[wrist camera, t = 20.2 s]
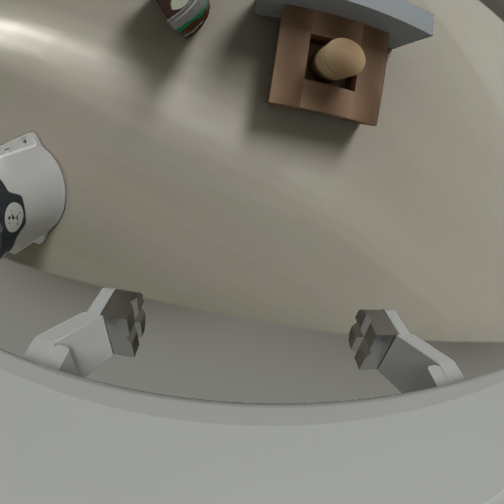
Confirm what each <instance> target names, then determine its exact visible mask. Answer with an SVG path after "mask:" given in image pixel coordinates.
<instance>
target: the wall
mask: <svg viewBox="0 0 504 504" xmlns="http://www.w3.org/2000/svg"><path fill="white" fill-rule="evenodd" d="M284 4H289V5H294V6H299V7H304V8H309V9H313V10H318V11H322V12H326V13H330V14H334V15H337V16H341V17H344V18H347V19H351V20H354V21H357V22H360V23H363V24H366V25H369V26H372V27H375V28H377V29H380V30H383V31H385V32H388V33H389V42H388V48H391V49H394V48H397V47H400V46H403V45H406V44H409V43H412V42H415V41H418V40H421V39H424V38H427V37H431V36H433V14H432V13H430V12H428V11H426V10H424V9H422V8H420V7H418V6H416V5H414V4H412V3H410V2H408V1H406V0H256V12H255V15H263V16H270V17H277V18H280V17H281V13H282V10H283V7H284Z"/></svg>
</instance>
